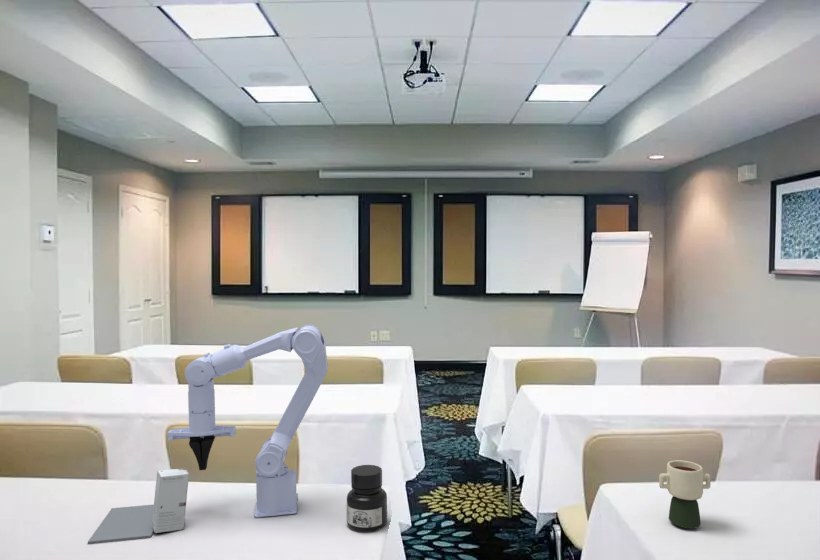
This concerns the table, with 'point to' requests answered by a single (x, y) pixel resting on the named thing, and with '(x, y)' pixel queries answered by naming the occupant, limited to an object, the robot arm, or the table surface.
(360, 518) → the ink bottle
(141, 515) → the slate mat
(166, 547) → the table surface
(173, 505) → the skincare box
